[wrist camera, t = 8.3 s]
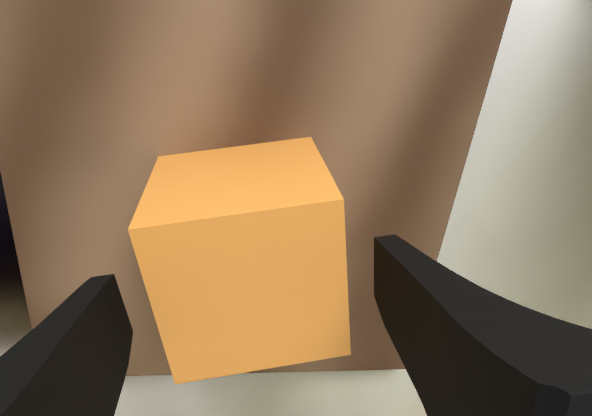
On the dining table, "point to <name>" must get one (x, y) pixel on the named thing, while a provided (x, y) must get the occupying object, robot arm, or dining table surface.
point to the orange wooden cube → (244, 258)
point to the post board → (233, 128)
